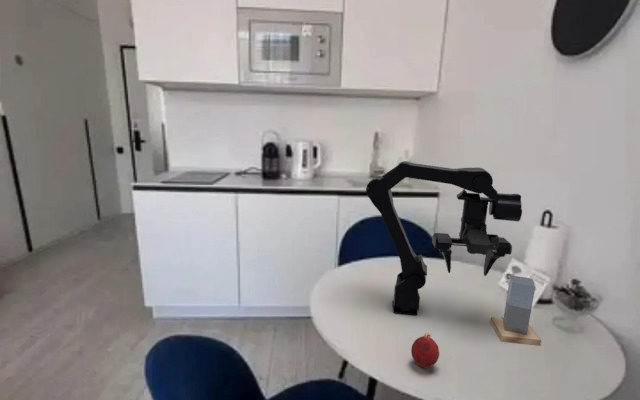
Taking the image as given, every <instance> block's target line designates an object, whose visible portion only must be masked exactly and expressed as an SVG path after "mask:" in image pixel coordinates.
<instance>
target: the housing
mask: <svg viewBox="0 0 640 400" xmlns="http://www.w3.org/2000/svg"><path fill="white" fill-rule="evenodd" d="M508 281H509V282H508V288H507V289H508V290H507V294H506V295H507V296H506V299H505V307H504V312H503V313H504V314H503V317H502V318H503V324H504V330H505V331H510V332H514V333H519V334H523V335H527V331H528V325H530V318H531V314H532V307H533V301H534V297H535V290H536V284H535V282H534V279H533V278H529V277H524V276H520V275H519V276H518V275H512V274H510V277H509V280H508Z"/></svg>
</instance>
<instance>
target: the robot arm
mask: <svg viewBox="0 0 640 400" xmlns="http://www.w3.org/2000/svg"><path fill="white" fill-rule="evenodd" d="M404 179H415V180H420V181H421V180H422V181H427V182H435V183H441V184H449V185H453V186H456V187H458V188H461V189H462V190H461V191H460V192H459V193H457V194H456V198H457V200H458V201H459V200H461V201H463V206H462V207H463V208H462V214H461V215H462V216H461V218H460V223H461V224H460V231H459V233H458V234H459V235H458V236H459V238H458V237H457V238H456V237H451V236H450V234H449V233H443V232H435V233H434V234H433V235H432V239H431V243H432V245H433V247H434V249H437V250H438V251H439V252H440V253H442V255H443V257H444V261H445V262H444V263H445V266H446V269H447V273H449V274H450V273H451V268H452V267H451V266H452V253H453V251H452V246H454V247H455V246H457V247H466V251H467V252H468V253H469V254H471V255H475V254H477V255H483V256H485V258H484V265H483V276H484V277H485V276H486V277H487V275H488V273H489V272H490V270H491V269H492V268H493V265H494V264H495V263H496V262H497V260H499V259H500V258H505V256H506V255H511V254H512V252H513V245H512V244H511V242H510V241H508V239H506V238H505V237H499V235H498V234H492V233H491V234H489V233H488V232H487V223H486V222H487V221H486V220H487V215H488V214H489V216H492V219H493V220H497V221H498V220H499V221H508V222H520V221H521V219H522V215H523V209H522V207H523V206H522V195H520V194H519V193H499V192H498V190H497V189H496V188H494V186H493V183H494V182H493V181H494V180H493V177H492V175H491V174H490V173H489V172H488V171H487V170H486V169H485V168H482V167H460V168H450V167H443V166H436V165H428V164H421V163H416V162H415V163H414V162H410V161H406V160H402V161H401V162H399V163H398V164H397V165H396V166H395V167H393V168H392V169H390V170H389V171H387V172H386V173H384V175H382V176H381V175H377V176H374V177H373V178H371V180H370V181H369V182H368V183H367V184H366V188H365V193H366V195H367V197H368V198H369V201H370V202H371V203H372V205H373V206H374V207H375V208H376V209H377V210H378V212H379V213H380V216H381V217H382V220H383V222H384V224H385V227H386V230H387V231H388V234H389V236H390V239H391V241H392V244H393V245H394V248H395V250H396V253H397V255H398V258H399V262H400V267H401V272H399V273H398V274H397V276H396V281H395V282H396V283H395V285H394V291H393V300H392V311H393V313H394V314H399V315H401V314H403V315H409V316H410V315H413V316H417V315H418V311H419V308H420V300H421V297H420V296H421V295H420V293H419V290H420V289H423V287H424V286H425V284H426V282H427V276H428V265H427V264H426V263H425V261H424V258H423V254H422V253H421V254H418V255H417V254H416V253H415V251H414V250H413V248H412V246H411V244H410V241H409V239H408V237H407V233H406V231H405V229H404V226H403V224H402V222H401V220H400V217H399V215H398V213H397V210H396V207H395V204H394V197H393V193H392V192H393V191H392V189H393V188H394V187H395V186H397V185H398V184H399V183H400V182H402V181H403V180H404ZM481 194H483V195H484V196H481Z"/></svg>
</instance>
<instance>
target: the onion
mask: <svg viewBox="0 0 640 400" xmlns="http://www.w3.org/2000/svg"><path fill="white" fill-rule="evenodd" d="M410 349H411V350H410V351H411V357H412V359H413V361H414V362H415V363H416V364H417V365H418V366H420V367H421V368H429V367H432V366H434V365H435V364H436V363H437V362H438V361H439V357H440V349H439V345H438V344H437V342H436V341H435V340H434V339H433V338H431V334H430V333H429V332H425V333H424V335H423V336H420V337H418V338H416V339H415V340H414V341H413V343H412V345H411V348H410Z"/></svg>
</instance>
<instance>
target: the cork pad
mask: <svg viewBox="0 0 640 400" xmlns="http://www.w3.org/2000/svg"><path fill="white" fill-rule="evenodd" d="M503 318H504V317H494V316H490V320H489V322H490V324H491V326H492V328H493V330H494V332H495V333H496V335H497V337H498V338H499V340H500V341H501V342H504V343H512V344H513V343H514V344H523V345H524V344H525V345H534V346H541V343H542V339H541V338H540V336H539V335H538V334H537V332H536V331H535V330H534V329H533V327H532V326H531V324H529V325H528V331H527V335H523V334H519V333H514V332H510V331H505V330H504V324H503Z"/></svg>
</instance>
